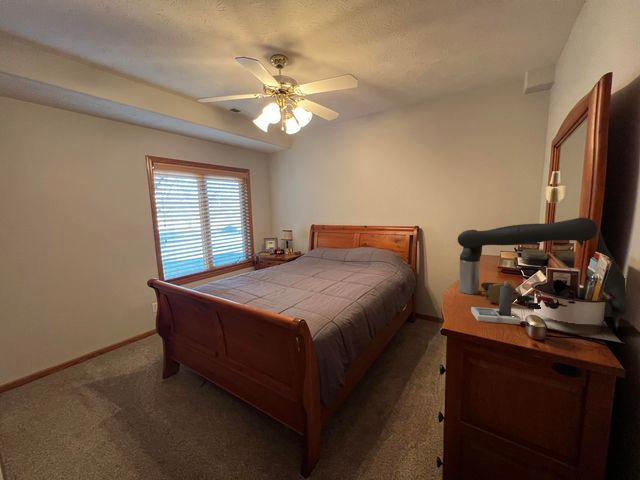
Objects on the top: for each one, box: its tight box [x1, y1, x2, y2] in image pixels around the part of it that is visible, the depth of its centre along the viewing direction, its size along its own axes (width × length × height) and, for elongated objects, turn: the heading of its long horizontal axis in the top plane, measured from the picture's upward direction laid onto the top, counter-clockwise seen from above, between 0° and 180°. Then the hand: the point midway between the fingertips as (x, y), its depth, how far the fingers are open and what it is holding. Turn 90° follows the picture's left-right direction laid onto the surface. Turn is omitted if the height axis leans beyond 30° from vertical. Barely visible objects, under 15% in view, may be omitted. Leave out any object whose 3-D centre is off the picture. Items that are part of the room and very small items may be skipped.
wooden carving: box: [481, 282, 523, 305], centre depth 122 cm, size 16×5×10 cm, turn 74°
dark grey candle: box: [498, 280, 513, 316], centre depth 106 cm, size 4×4×15 cm
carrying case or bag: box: [480, 282, 512, 291], centre depth 142 cm, size 11×3×15 cm
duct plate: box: [470, 306, 523, 325], centre depth 107 cm, size 10×15×2 cm, turn 73°
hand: (522, 301), depth 104 cm, fingers open, 8 cm apart
